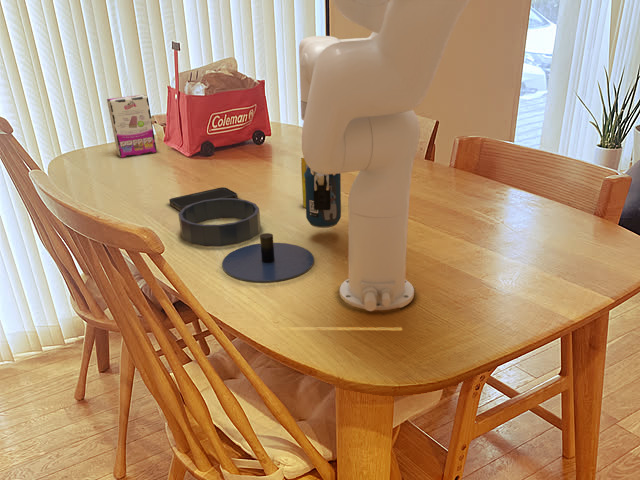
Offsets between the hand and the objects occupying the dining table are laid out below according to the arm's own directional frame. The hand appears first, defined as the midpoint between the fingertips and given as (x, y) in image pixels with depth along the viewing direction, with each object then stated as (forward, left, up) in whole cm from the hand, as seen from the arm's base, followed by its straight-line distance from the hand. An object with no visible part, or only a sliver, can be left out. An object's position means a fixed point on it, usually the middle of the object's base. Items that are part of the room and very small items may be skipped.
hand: (323, 201), depth 125 cm
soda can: (0, 0, -5) cm, 5 cm away
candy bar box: (+68, +60, -8) cm, 91 cm away
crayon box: (+20, +2, -8) cm, 22 cm away
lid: (-12, +10, -8) cm, 17 cm away
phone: (+24, +30, -8) cm, 39 cm away
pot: (+4, +22, -8) cm, 24 cm away
